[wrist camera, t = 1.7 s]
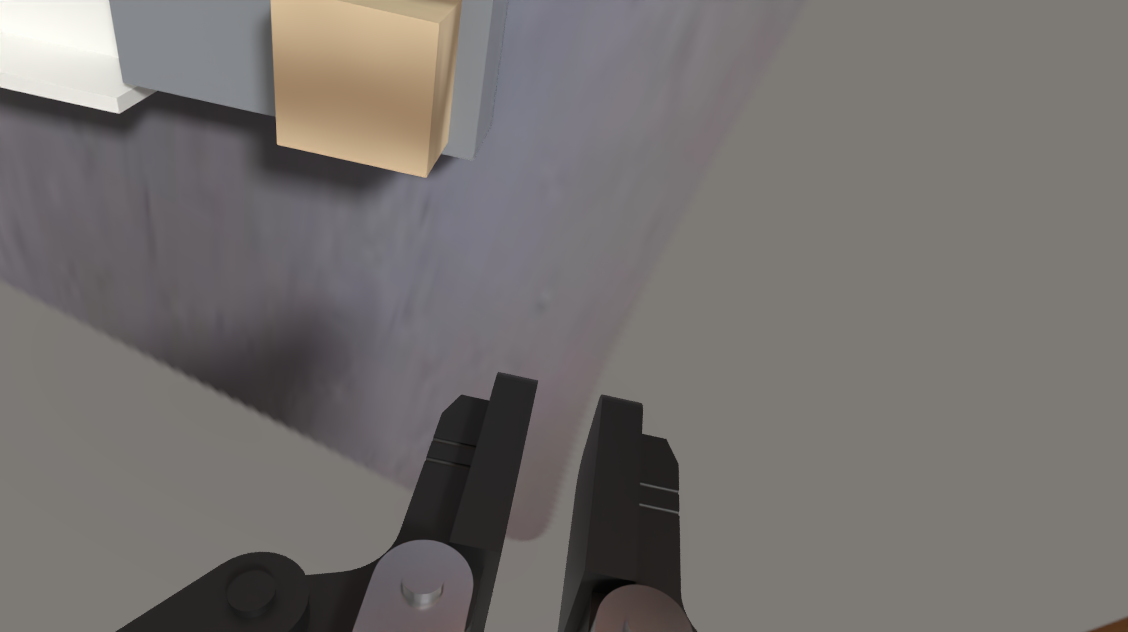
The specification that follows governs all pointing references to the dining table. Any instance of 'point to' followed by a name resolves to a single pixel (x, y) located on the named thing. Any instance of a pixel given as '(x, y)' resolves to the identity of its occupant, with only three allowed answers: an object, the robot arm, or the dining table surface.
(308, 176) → the dining table surface
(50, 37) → the tray
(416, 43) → the thick tan wooden block
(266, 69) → the board
